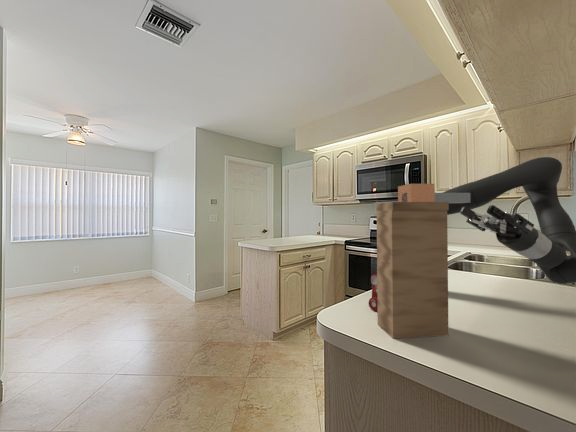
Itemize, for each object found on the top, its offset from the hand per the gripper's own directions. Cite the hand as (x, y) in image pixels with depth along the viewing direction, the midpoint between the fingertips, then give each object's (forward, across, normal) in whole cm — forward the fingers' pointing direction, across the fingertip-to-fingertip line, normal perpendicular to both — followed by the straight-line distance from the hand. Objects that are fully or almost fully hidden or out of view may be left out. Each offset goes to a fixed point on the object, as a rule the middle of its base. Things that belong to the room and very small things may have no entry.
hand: (474, 208), depth 68 cm
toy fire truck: (0, -12, +35) cm, 38 cm away
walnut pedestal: (0, 0, +35) cm, 35 cm away
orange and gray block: (+10, 0, +4) cm, 11 cm away
